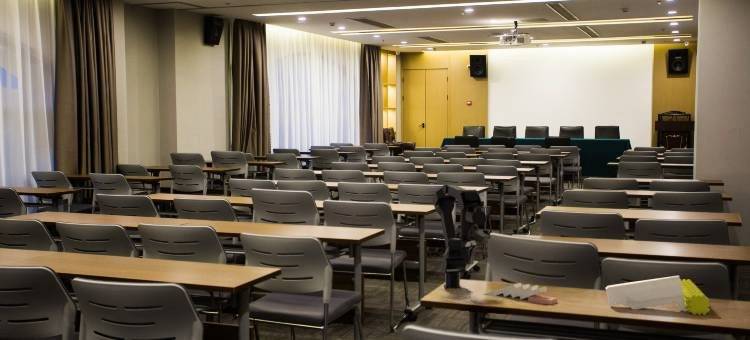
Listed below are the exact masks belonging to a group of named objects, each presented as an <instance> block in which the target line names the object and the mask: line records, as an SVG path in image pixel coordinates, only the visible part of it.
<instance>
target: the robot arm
mask: <svg viewBox="0 0 750 340" xmlns="http://www.w3.org/2000/svg"><path fill="white" fill-rule="evenodd" d="M456 202H457V203H458V204H459V210H460V220H459V221H460V224H458V226H457V229H459V230H460V232H459V233H460V235H458V236H457V233H456V227H455V222H454V218H453V210H454V208H455V203H456ZM432 205H433V207H434V210H435V212H436V213H437V214H438V215H439V216H440V221H441V222H440V223H441V227H442V228H441V229H442V233H443V238H444V244H445V252H444V254H443V259H442V262H441V264H440V267H439V268H440V272H441V273H443V274H445V281H444V282H445V284H443V287H444V289H446V290H447V289H461V288H462V286H461V279H460V277H461V273H463V274H464V273H466V266H467V264H470V263H471V259H472V256H473V253H474V251H475V250H476V249H477V248H479V246H480V245H484V244H488V241H489V240H491V230H489V229H484V230H479V226H483V225H484V224H485V222H486V221H487V215H486V212H485V211H483V210H482V209H483V202H482V199H481V197H480V194H479V192H478V190H477V189H465V188H463V187H461V186H458V185H457V184H455V183H445V184H443V186H442V187H441V188H440V189H438V190H437V191H436V192H435V193H434V195H433V197H432ZM479 244H480V245H479Z"/></svg>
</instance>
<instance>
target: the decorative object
mask: <svg viewBox="0 0 750 340" xmlns="http://www.w3.org/2000/svg"><path fill="white" fill-rule="evenodd" d="M680 282H681V285H682V290H683V297H684V302H685V308H686V310H688V311H689V312H690V313H691V314H692V315H694V316H695V315H698V316H700V315H703V316H706V315H707V313H709V312H710V311H711V310H710V303H709V302H710V299H709V298H708V297H707V296H706V295H705V294H704V293H703V292H702V290H701V289H700V288H698V287H699V286H697V285H696V284H695V283H694V282H693V281H692V280H691V279H684V278H683V279H681V278H680Z"/></svg>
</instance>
